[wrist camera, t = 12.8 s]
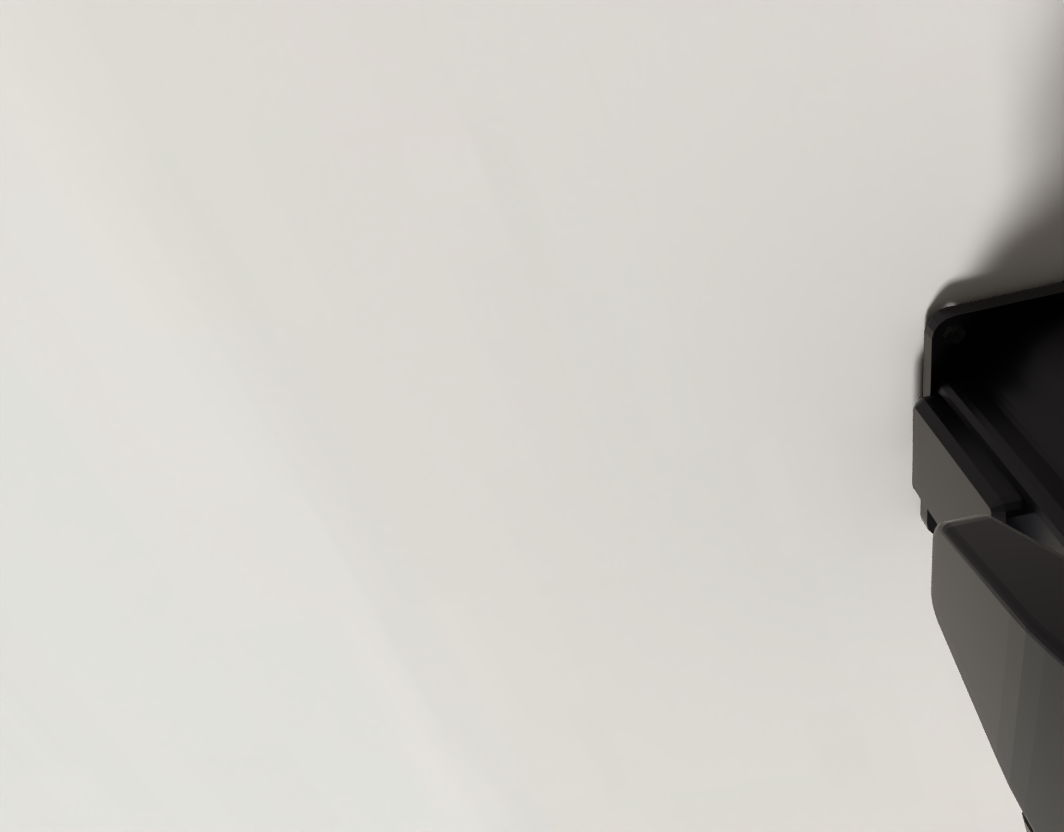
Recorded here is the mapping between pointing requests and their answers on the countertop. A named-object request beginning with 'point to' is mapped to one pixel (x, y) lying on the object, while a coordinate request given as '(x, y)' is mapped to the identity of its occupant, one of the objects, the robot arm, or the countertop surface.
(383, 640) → the countertop surface
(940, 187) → the countertop surface
